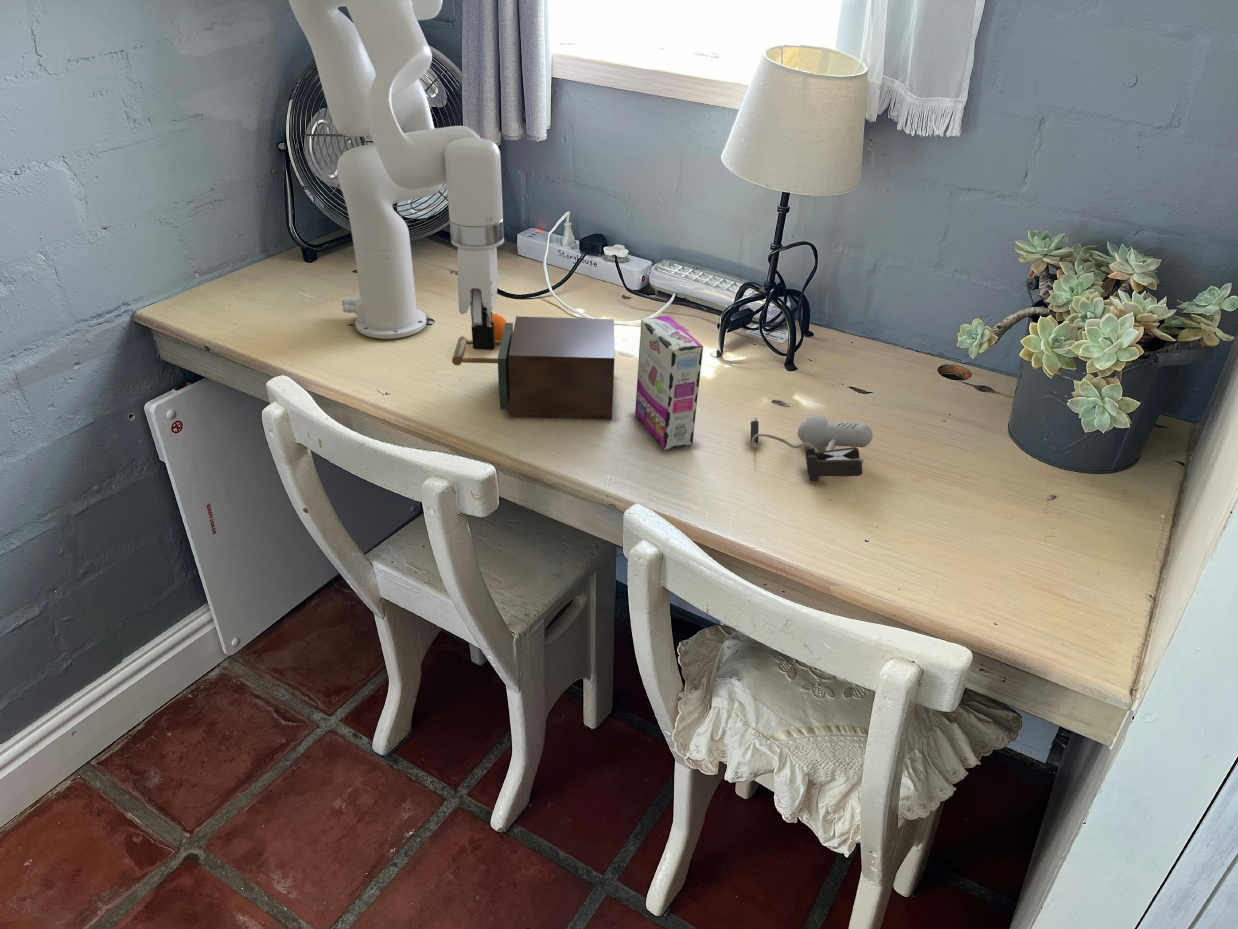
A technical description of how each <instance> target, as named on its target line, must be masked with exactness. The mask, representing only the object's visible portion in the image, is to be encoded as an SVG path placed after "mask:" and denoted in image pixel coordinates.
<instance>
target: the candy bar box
mask: <svg viewBox="0 0 1238 929" xmlns="http://www.w3.org/2000/svg"><path fill="white" fill-rule="evenodd" d="M639 334H640V337H639V347H638V364H637V380H636V392H635V393H636V396H635V408H634V409H635V412H634V415H635V417H636V418H637V419H638V420H639V421H640V423H641V424H642V425H643V426H644V428H646V430H647V431H648V432H649V433H650V434H651V436H652V437H653V438H654V439H655V440H656V441H657V443H658V444H659V445H660V446H661V448H662V449H663V450H664V451H669V450H673V449H680V448H684V447H689V446H693V444H694V443H693V442H694V432H695V424H696V415H697V406H698V396H699V388H700V379H701V369H702V362H703V353H704V352H703V351H704V345H703V344H702V343H700V342H699V341H698V340H697V339H696V338H695V337H693V336H692V335H691V334H690V333H689V331H687V330H686V329H685V328H684V327H683V326H682V325H680V324H679V323H678V322H677V321H676V320H675V319H674V318H673V317H671V316H670V315H663V316H655V317H650V318H643V319H640V333H639Z"/></svg>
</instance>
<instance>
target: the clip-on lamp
mask: <svg viewBox="0 0 1238 929" xmlns="http://www.w3.org/2000/svg"><path fill="white" fill-rule="evenodd" d="M759 428H760V427H759V421H758V417H754V418H753V419H752V420H751V421H750V444H751V447H752V448H753V449H756V448H757V444H759V437H765V438H770V439H773V440H776V441H779V442H780V443H783V444H786V445H787V446H788V447H790V448H793V449H801V448H803V447H805V449H804V451H805V461H806V469H807V470H806V471H807V474H808V480H809V482H818V481H819V478H820V477H861V476H862V475H863V463H864V462H865V459H863V458H862V457H860V450H859V448H865V447H867V446H869V444H870V443H871V442H872V439H873V431H872V428H871V427H870V426H869V425H868V424H867V423H861V422H859V423H858V422H856V423H855V422H843V421H829V420H828V419H827V418H826V417H824V416H822V415H818V414H814V415H810V416H807V417H806V420H805V421H804V422H802V423H801V424H800V425H799V426H798V428H797V436H798V439H799V440H800V441H801V442H802V443H799V444H793V443H791V442H789V441H787V440H786V439H783V438H781V437H778V436H776V435H771V434H766V433H759ZM835 447H844V448H837V449H835ZM824 448H826V449H825V450H823V449H824ZM820 450H822V451H820Z"/></svg>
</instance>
